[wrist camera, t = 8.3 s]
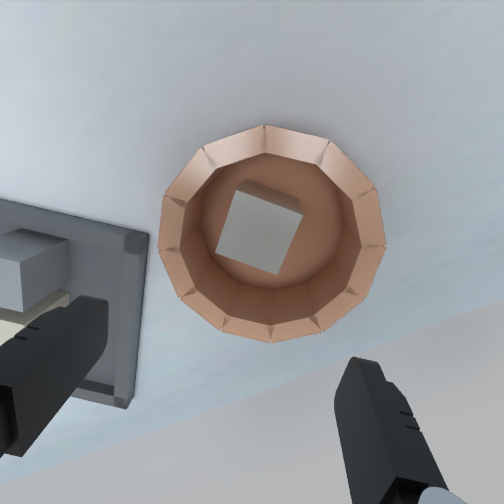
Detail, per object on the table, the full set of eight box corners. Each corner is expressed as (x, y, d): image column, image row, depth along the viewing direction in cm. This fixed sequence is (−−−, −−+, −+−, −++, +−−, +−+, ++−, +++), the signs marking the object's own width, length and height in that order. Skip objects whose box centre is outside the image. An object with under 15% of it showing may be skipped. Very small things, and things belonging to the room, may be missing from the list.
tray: (-54, 186, 22) (-74, 189, 21) (149, 234, 22) (141, 240, 21) (-27, 359, 28) (-42, 369, 27) (133, 396, 28) (126, 409, 27)
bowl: (200, 112, 19) (173, 102, 14) (385, 155, 19) (421, 160, 14) (177, 277, 23) (150, 315, 18) (327, 313, 23) (340, 359, 18)
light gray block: (21, 227, 22) (-40, 248, 18) (68, 238, 22) (19, 262, 18) (24, 270, 24) (-32, 299, 19) (68, 281, 24) (23, 312, 19)
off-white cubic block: (25, 282, 24) (-30, 312, 20) (69, 292, 24) (24, 325, 20) (27, 319, 25) (-23, 355, 21) (69, 329, 25) (27, 367, 21)
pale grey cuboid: (245, 178, 19) (236, 189, 15) (298, 198, 19) (303, 215, 15) (228, 229, 20) (215, 252, 16) (277, 247, 21) (276, 275, 16)
